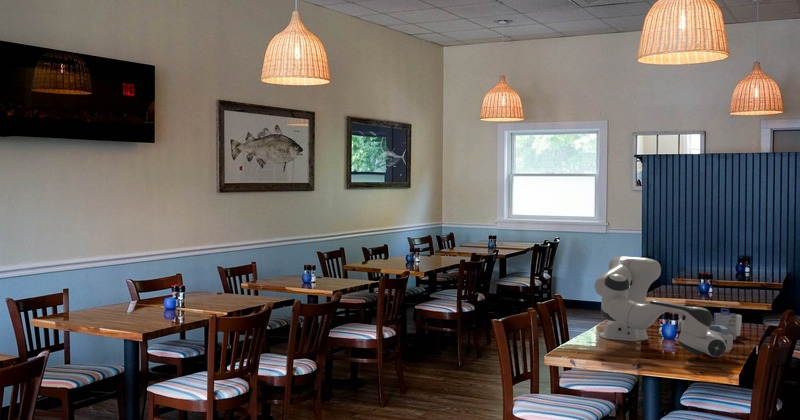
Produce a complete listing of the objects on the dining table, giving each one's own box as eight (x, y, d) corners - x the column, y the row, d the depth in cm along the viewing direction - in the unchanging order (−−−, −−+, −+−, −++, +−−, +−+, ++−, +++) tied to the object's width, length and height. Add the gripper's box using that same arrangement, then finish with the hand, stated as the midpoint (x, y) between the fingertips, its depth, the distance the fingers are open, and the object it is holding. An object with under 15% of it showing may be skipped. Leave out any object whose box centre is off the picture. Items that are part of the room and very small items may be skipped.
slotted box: (703, 345, 365) (703, 328, 365) (699, 341, 375) (700, 324, 375) (727, 346, 363) (728, 329, 363) (723, 342, 373) (723, 325, 373)
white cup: (724, 335, 392) (724, 315, 391) (723, 333, 399) (724, 313, 399) (741, 337, 389) (742, 316, 388) (741, 334, 396) (741, 314, 396)
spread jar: (695, 336, 389) (696, 312, 389) (671, 333, 395) (672, 310, 395) (700, 332, 399) (701, 309, 399) (677, 330, 405) (678, 307, 405)
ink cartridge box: (734, 338, 385) (735, 308, 385) (736, 340, 379) (737, 310, 379) (712, 337, 387) (713, 307, 387) (714, 339, 381) (715, 309, 381)
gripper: (683, 346, 334) (679, 341, 347) (735, 350, 330) (729, 344, 343) (684, 331, 334) (680, 326, 347) (736, 335, 330) (729, 329, 343)
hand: (704, 335), depth 345 cm, fingers open, 8 cm apart
